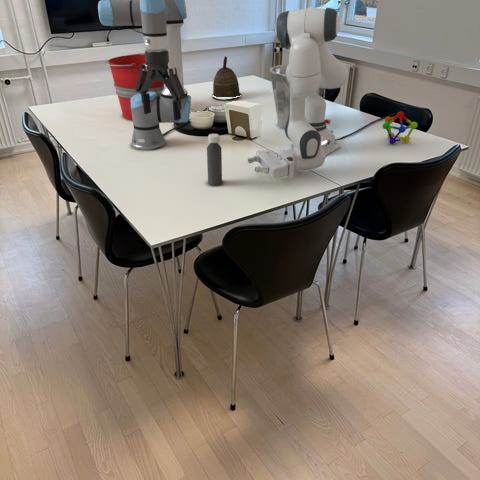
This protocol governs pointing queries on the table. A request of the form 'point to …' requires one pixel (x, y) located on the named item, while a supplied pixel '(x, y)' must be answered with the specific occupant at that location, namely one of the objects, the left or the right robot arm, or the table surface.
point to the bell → (225, 82)
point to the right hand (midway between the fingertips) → (251, 165)
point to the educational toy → (398, 128)
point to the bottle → (214, 164)
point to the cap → (213, 138)
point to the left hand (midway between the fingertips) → (162, 116)
